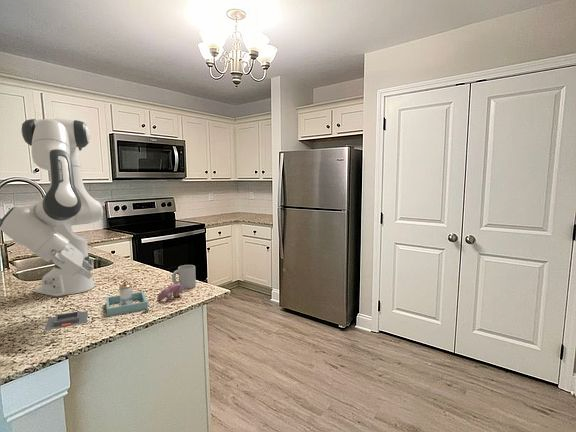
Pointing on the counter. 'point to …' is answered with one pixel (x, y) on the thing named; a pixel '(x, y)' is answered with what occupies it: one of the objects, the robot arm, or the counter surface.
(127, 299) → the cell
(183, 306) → the counter surface
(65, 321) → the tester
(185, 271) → the cup
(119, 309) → the bin
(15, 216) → the robot arm
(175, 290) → the video game controller
